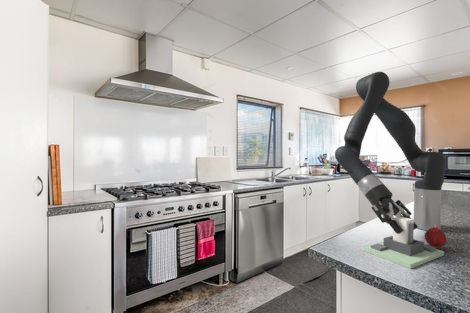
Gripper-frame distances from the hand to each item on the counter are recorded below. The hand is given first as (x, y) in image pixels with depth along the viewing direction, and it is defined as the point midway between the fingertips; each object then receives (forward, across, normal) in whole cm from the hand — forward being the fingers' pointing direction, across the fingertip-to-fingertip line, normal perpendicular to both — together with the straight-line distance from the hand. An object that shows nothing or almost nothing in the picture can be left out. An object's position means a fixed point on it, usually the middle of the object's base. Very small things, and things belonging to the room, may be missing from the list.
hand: (408, 230), depth 78 cm
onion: (+7, +14, +4) cm, 16 cm away
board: (+4, 0, +6) cm, 8 cm away
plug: (+3, 0, +6) cm, 7 cm away
